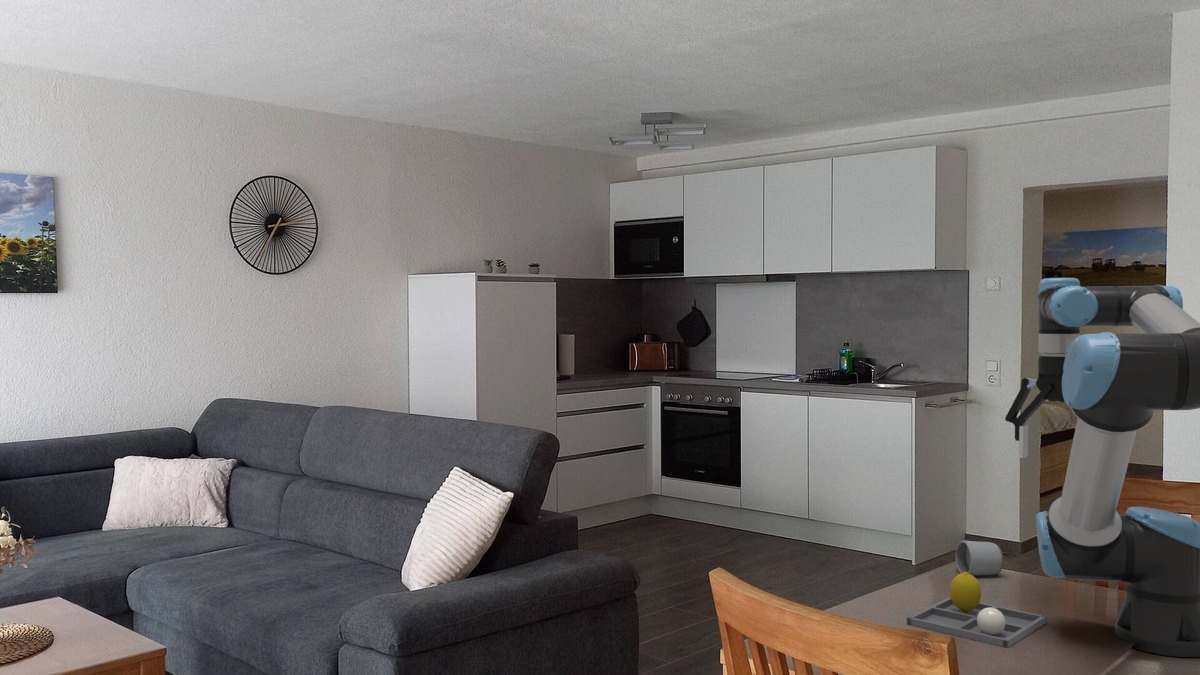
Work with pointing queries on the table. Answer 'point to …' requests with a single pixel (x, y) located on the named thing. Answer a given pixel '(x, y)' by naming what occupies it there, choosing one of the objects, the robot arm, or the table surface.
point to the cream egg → (991, 621)
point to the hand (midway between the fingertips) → (1058, 460)
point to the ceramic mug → (979, 558)
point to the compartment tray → (965, 624)
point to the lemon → (965, 592)
